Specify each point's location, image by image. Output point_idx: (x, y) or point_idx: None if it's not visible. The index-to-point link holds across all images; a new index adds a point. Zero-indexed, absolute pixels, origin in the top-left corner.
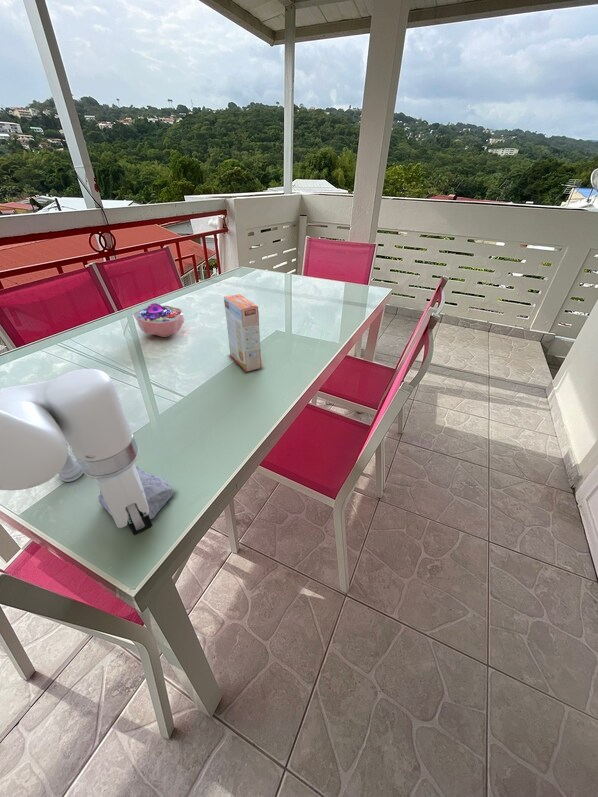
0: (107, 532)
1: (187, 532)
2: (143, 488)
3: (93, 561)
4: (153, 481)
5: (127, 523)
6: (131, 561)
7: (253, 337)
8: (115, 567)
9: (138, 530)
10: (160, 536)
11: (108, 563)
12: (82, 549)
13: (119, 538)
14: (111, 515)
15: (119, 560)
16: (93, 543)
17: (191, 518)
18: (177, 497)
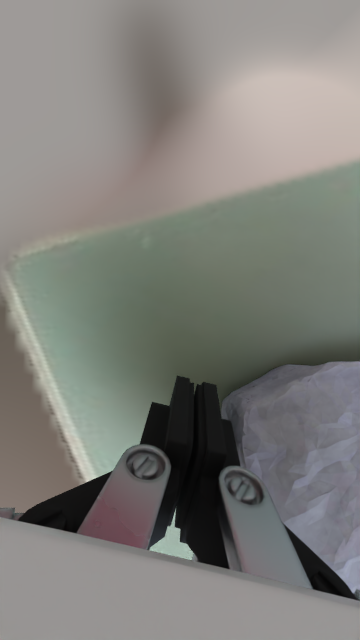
0: (309, 302)
1: (82, 474)
2: (345, 554)
3: (225, 204)
4: None
5: (268, 378)
6: (114, 306)
7: None
8: (133, 255)
9: (150, 411)
10: (132, 417)
11: (170, 244)
12: (320, 193)
13: (241, 321)
14: (356, 362)
15: (150, 279)
16: (308, 239)
17: None
18: None
